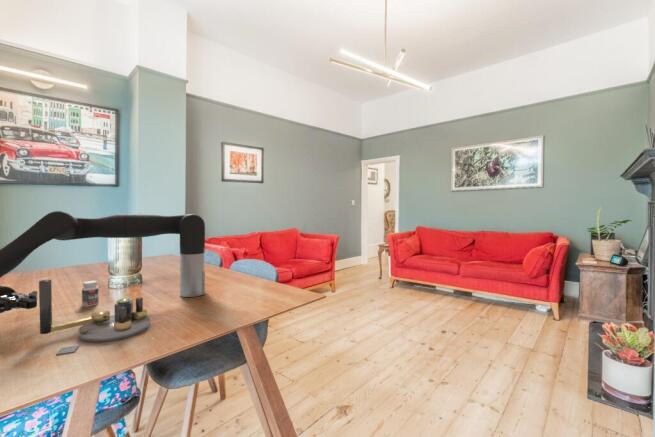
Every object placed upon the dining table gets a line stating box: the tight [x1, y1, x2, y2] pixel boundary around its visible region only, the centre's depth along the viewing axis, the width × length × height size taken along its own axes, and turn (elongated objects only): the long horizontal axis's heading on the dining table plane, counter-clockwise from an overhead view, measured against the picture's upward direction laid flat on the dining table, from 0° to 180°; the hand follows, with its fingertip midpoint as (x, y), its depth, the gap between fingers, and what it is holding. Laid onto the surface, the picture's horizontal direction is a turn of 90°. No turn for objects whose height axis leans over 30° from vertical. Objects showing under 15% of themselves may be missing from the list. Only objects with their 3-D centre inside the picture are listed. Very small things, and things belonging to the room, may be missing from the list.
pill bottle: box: [81, 280, 100, 308], centre depth 109 cm, size 5×5×8 cm
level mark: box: [55, 344, 80, 356], centre depth 75 cm, size 4×4×1 cm
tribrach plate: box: [78, 297, 151, 344], centre depth 88 cm, size 17×17×9 cm
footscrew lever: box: [38, 279, 111, 335], centre depth 85 cm, size 15×4×14 cm, turn 140°
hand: (33, 304), depth 81 cm, fingers closed
